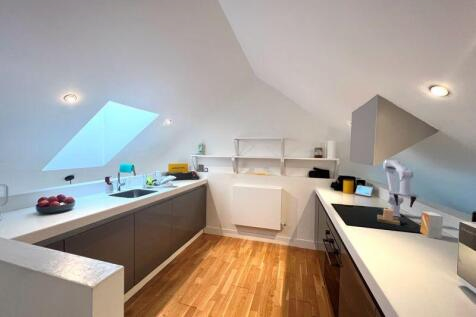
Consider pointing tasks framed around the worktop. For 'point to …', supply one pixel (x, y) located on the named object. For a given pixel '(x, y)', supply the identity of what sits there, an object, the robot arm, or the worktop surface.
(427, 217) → the small box
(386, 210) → the terracotta block
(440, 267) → the worktop surface
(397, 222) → the tan board
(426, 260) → the worktop surface
